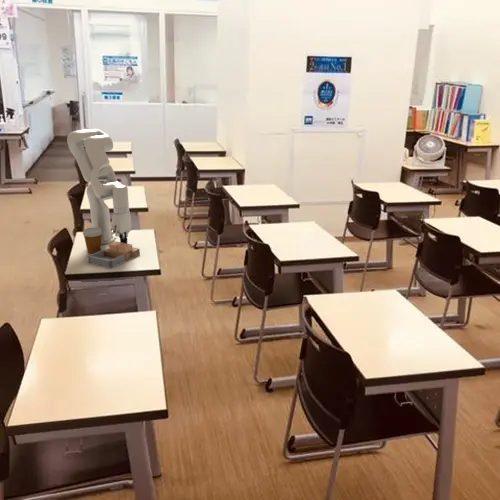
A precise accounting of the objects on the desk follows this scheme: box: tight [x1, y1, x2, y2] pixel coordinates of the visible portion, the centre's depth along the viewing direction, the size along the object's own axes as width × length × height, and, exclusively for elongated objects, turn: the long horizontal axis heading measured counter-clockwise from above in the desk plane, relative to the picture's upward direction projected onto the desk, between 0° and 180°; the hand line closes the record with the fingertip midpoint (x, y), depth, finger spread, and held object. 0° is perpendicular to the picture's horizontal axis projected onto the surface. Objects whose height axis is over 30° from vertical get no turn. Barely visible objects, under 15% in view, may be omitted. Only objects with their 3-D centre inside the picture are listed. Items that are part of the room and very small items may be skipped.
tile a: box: [108, 240, 123, 251], centre depth 268 cm, size 5×5×3 cm
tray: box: [87, 249, 126, 269], centre depth 260 cm, size 10×14×4 cm
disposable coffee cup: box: [82, 227, 102, 255], centre depth 270 cm, size 10×10×12 cm
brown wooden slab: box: [103, 246, 140, 262], centre depth 269 cm, size 11×14×3 cm
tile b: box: [118, 242, 133, 253], centre depth 266 cm, size 5×5×3 cm
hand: (124, 244), depth 273 cm, fingers closed
